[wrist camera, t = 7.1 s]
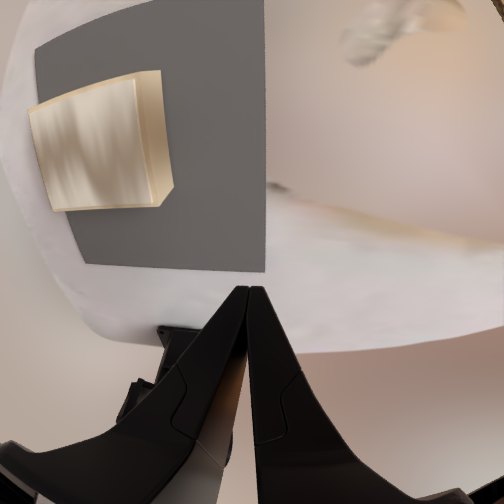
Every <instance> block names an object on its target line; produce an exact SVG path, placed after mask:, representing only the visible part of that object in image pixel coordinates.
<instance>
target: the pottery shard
mask: <svg viewBox="0 0 504 504" xmlns="http://www.w3.org/2000/svg"><path fill="white" fill-rule="evenodd" d="M491 1H492V2H493V4H494V6H495V7H496V9H497V11H498V13H499V14H500V16H501V17H502V20H503V22H504V0H491Z"/></svg>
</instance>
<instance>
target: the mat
mask: <svg viewBox="0 0 504 504" xmlns="http://www.w3.org/2000/svg"><path fill="white" fill-rule="evenodd" d="M35 65H36V78H37V88H38V97H39V104H41V103H43V102H46V101H48V100H50V99H53V98H55V97H58V96H60V95H63V94H66V93H68V92H71V91H74V90H77V89H79V88H82V87H85V86H88V85H92V84H95V83H98V82H101V81H105V80H108V79H112V78H115V77H119V76H123V75H127V74H131V73H136V72H140V71H153V70H161V81H162V93H163V104H164V114H165V123H166V132H167V140H168V148H169V156H170V163H171V170H172V177H173V184H174V188H173V189H172V190H171V192H170V193H169V194H168V195H167V197H166V198H165V199H164V201H163V202H162V203H161V205H160V206H159V207H134V208H109V209H90V210H74V211H65V212H66V214H67V217H68V220H69V223H70V226H71V228H72V231H73V234H74V236H75V239H76V242H77V244H78V247H79V249H80V252H81V254H82V256H83V259H84V261H85V263H87V264H101V265H117V266H133V267H151V268H169V269H190V270H212V271H236V272H264V273H265V236H266V114H265V113H266V105H265V104H266V102H265V101H266V100H265V33H264V0H153V1H149V2H146V3H142V4H139V5H135V6H132V7H129V8H126V9H122V10H119V11H117V12H114V13H111V14H108V15H106V16H103V17H100V18H98V19H95V20H93V21H90V22H88V23H86V24H83V25H81V26H79V27H77V28H75V29H72V30H70V31H68V32H66V33H64V34H62V35H60V36H58V37H56V38H54V39H52V40H51V41H49V42H47V43H45V44H43V45H42V46H40V47H38V48H36V49H35Z"/></svg>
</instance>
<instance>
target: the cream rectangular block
mask: <svg viewBox="0 0 504 504" xmlns="http://www.w3.org/2000/svg"><path fill="white" fill-rule="evenodd" d="M28 116H29V122H30V128H31V133H32V138H33V142H34V147H35V151H36V155H37V160H38V163H39V167H40V171H41V175H42V178H43V182H44V185H45V188H46V191H47V195H48V198H49V201H50V204H51V207H52V210H53V212H59V211H74V210H90V209H109V208H134V207H159V206H160V205H161V203H162V202H163V201H164V199H165V198H166V197H167V195H168V194H169V193H170V192H171V190H172V189H173V188H174V184H173V177H172V170H171V163H170V156H169V148H168V140H167V132H166V123H165V114H164V104H163V93H162V81H161V70H153V71H140V72H136V73H131V74H127V75H123V76H119V77H115V78H112V79H108V80H105V81H101V82H98V83H95V84H92V85H88V86H85V87H82V88H79V89H77V90H74V91H71V92H68V93H66V94H63V95H60V96H58V97H55V98H53V99H50V100H48V101H46V102H43V103H41V104H39V105H36V106H34V107H32V108H30V109H28Z"/></svg>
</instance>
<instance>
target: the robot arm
mask: <svg viewBox="0 0 504 504" xmlns="http://www.w3.org/2000/svg"><path fill="white" fill-rule="evenodd" d="M157 333H158V335H159V338H160V340H161V342H162V344H163V347H164V349H165V350H164V353H163V357H162V360H161V363H160V366H159V370H158V373H157V376H156V379H155V383H154V384H152V383H150V382H146V381H144V380H143V379H141V378H138V381H137V382H132V383H131V386H130V389H129V392H128V395H127V397H126V399H125V402H124V404H123V406H122V408H121V410H120V412H119V414H118V416H117V419H116V423H117V424H116V425H115V426H114V427H112V428H111V429H110V430H108V431H106V432H105V433H103V434H101V435H99V436H96V437H94V438H90V439H88V440H84V441H82V442H78V443H75V444H72V445H69V446H65V447H62V448H58V449H55V450H51V451H47V452H42V453H35V452H33V451H31V450H29V449H27V448H25V447H24V446H22V445H20V444H18V443H17V442H15V441H12V440H10V441H8V442H5V443H3V444H1V443H0V504H216V502H217V498H218V493H219V489H220V485H221V480H222V476H223V471H224V470H223V469H224V468H225V467H226V465H227V463H228V461H229V459H230V455H231V451H232V444H233V425H234V420H235V416H236V411H237V406H238V401H239V396H240V392H241V387H242V382H243V377H244V372H245V367H246V362H247V357H248V364H249V378H250V393H251V408H252V421H253V436H254V447H255V448H254V449H255V462H256V478H257V492H258V504H504V475H503V476H501V477H500V478H498V479H496V480H494V481H492V482H490V483H488V484H486V485H484V486H482V487H480V488H478V489H476V490H475V491H473V492H471V493H469V494H467V495H466V494H465V493H464V492H463V491H462V490H461V489H460V488H454V489H450V490H448V491H444V492H441V493H437V494H433V495H429V496H426V497H421V498H417V499H414V498H412V497H410V496H408V495H406V494H405V493H404V492H402V491H401V490H399V489H398V488H396V487H395V486H394V485H392V484H391V483H389V482H388V481H387V480H385V479H384V478H383V477H381V476H380V475H378V474H377V473H376V472H374V471H373V470H372V469H371V468H369V467H368V466H367V465H365V464H364V463H363V462H362V461H361V460H360V459H359V458H358V457H357V456H356V455H355V454H354V453H353V452H352V450H351V449H350V448H349V447H348V445H347V444H346V442H345V441H344V440H343V439H342V437H341V435H340V434H339V432H338V431H337V429H336V428H335V426H334V425H333V423H332V422H331V420H330V419H329V417H328V416H327V414H326V413H325V411H324V410H323V408H322V406H321V405H320V403H319V402H318V400H317V399H316V397H315V395H314V393H313V391H312V389H311V387H310V385H309V383H308V381H307V379H306V377H305V375H304V373H303V371H301V366H300V364H299V363H298V360H297V358H296V356H295V353H294V351H293V349H292V347H291V345H290V343H289V340H288V338H287V336H286V334H285V332H284V330H283V327H282V325H281V323H280V321H279V319H278V317H277V314H276V312H275V310H274V308H273V306H272V304H271V301H270V299H269V297H268V295H267V293H266V291H265V288H264V287H263V286H251V287H249V286H236V287H235V288H234V289H233V291H232V292H231V293H230V295H229V296H228V297H227V298H226V300H225V301H224V302H223V303H222V305H221V306H220V307H219V309H218V310H217V311H216V312H215V314H214V315H213V316H212V317H211V319H210V320H209V321H208V322H207V324H206V325H205V326H204V328H203V329H202V330H192V329H182V328H173V327H164V326H159V327H158V329H157Z"/></svg>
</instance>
